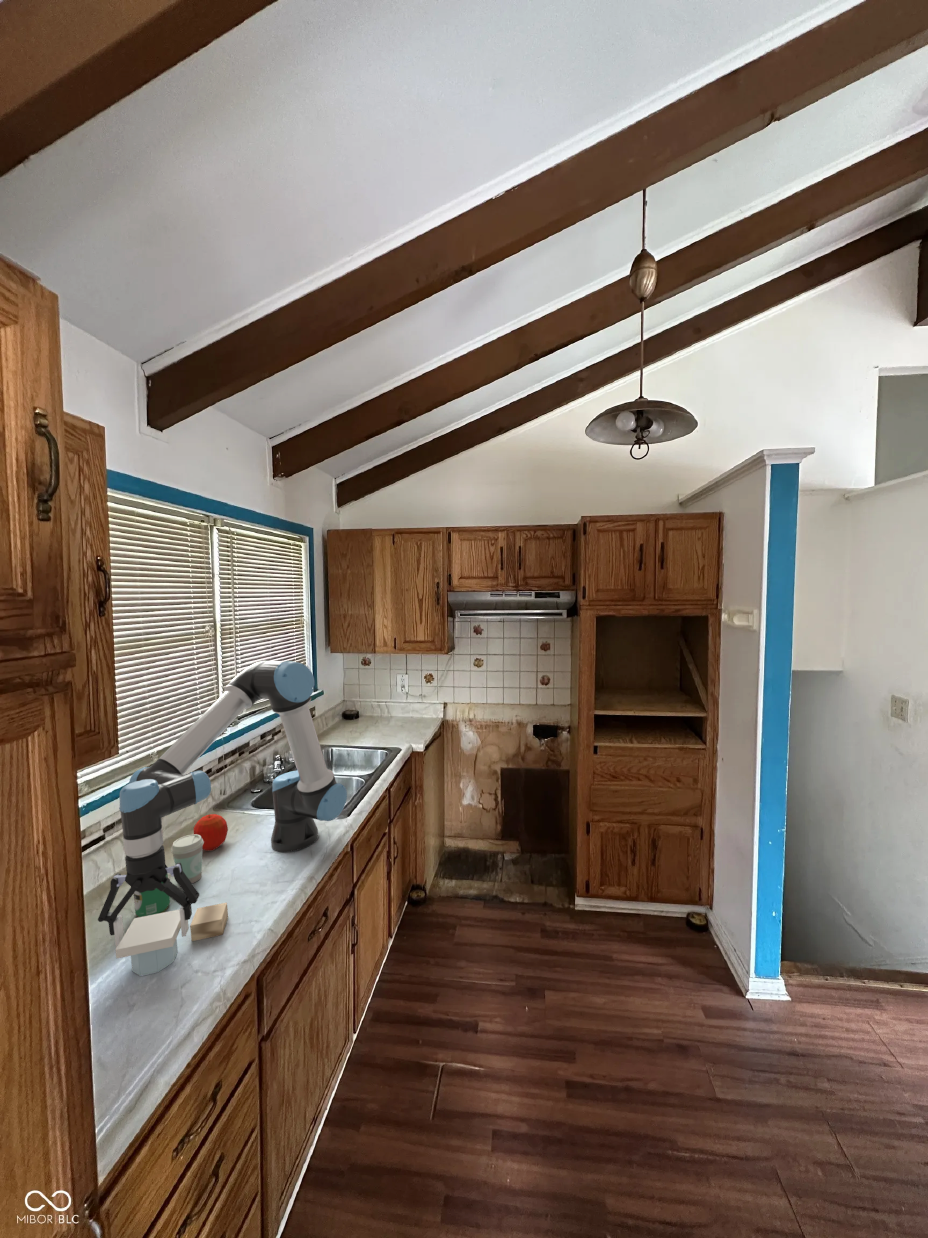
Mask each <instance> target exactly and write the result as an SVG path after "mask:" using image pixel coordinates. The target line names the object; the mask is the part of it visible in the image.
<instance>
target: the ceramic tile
mask: <svg viewBox="0 0 928 1238" xmlns="http://www.w3.org/2000/svg"><path fill="white" fill-rule="evenodd" d="M180 931H181V921H180V908H179V909H175V910H169V911H164V912H163V913H159V914H154V915H149V916H144V917H135V918H133V920H132V921H131V923H130V925H129V926H128V928H127V930H126V932H124V936H123V938H122V940H121V941H120V943H119V945H118V946H117V948H116V947H115V958H116V959H120V958H121V959H123V958H126V957H129V956H130V957H131V955H136V954H140V953H145V952H150V951H154V950H159V949H164V948H168V947H173V945H174V943H175V940H176V938H178V935H179V934H180Z"/></svg>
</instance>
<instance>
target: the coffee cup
mask: <svg viewBox="0 0 928 1238" xmlns="http://www.w3.org/2000/svg"><path fill="white" fill-rule="evenodd" d="M203 844H204V842H203V839H202V838H201V836H200V835H197V834H194V833H193V834H188V835H184V836H181V837H179V838H177V839H176V840H174V841H173V842H172V846H171V849H170V852H171V854H172V856H173V861H174V862H173V863H174V866H175V865H176V864H177V863H181V864H182V869H183V872H184V873H185V875H186V876H187V877H188V879H189V880H190V882H191V883H192V884H193V883H194V884H195V883H196V882H198V881H199V880H201V878H202V870H203V867H202V866H203V849H202V847H203Z"/></svg>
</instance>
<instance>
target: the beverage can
mask: <svg viewBox="0 0 928 1238" xmlns="http://www.w3.org/2000/svg"><path fill="white" fill-rule="evenodd" d="M168 875H169V873H167V875H166V877H167V878H169V876H168ZM161 883H162V882H161ZM162 884H163V883H162ZM133 901H134V902H133V903H134V912H135V915H136V916H137V918H139V917H144V916H149V915H154V914H159V913H164V912H166V910H168V908H169V906H170V903H171V897H170V896H168V895H167V894H166V893H165V892H163V891H160V890H158V889H157V888H156V889H155V890H153V891H145V892H142V893H139V892H137V891H135V892H134V894H133Z"/></svg>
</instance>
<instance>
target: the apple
mask: <svg viewBox="0 0 928 1238" xmlns="http://www.w3.org/2000/svg"><path fill="white" fill-rule="evenodd" d="M228 831H229V829H228V823H227V820H226V818H224V817H223V816H222V815H219V814H215V813H211V814H207V815H204V816H202V817H201V818H199V820H198V821H196V823H195V825H194V827H193V834H197V835H200V836H201V838H202V839H203V842H204V844H203V847H202V851H205V852H210V851H216V849H218V848H219V847H221V845H222V844H223V843H224V842H226V839H227V837H228V836H227V835H228Z"/></svg>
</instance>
